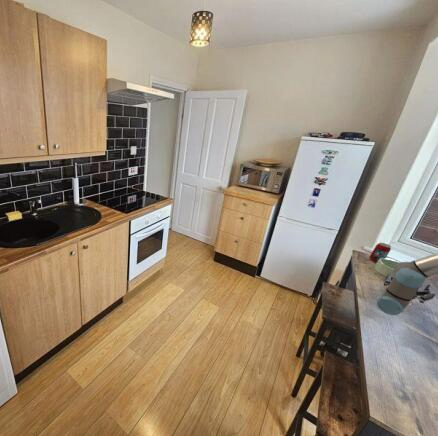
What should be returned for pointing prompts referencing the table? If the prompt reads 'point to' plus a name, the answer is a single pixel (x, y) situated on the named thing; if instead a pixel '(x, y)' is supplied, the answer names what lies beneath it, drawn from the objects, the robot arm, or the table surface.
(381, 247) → the beverage can
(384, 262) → the bowl
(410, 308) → the table surface
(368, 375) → the table surface
